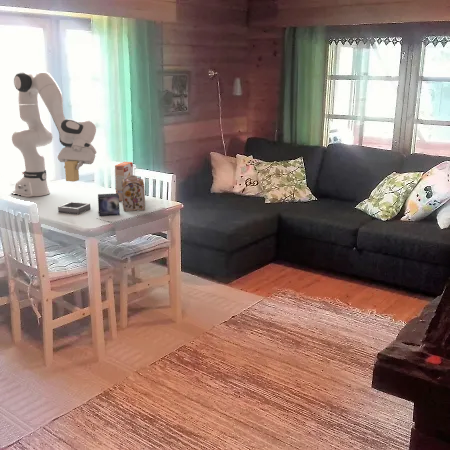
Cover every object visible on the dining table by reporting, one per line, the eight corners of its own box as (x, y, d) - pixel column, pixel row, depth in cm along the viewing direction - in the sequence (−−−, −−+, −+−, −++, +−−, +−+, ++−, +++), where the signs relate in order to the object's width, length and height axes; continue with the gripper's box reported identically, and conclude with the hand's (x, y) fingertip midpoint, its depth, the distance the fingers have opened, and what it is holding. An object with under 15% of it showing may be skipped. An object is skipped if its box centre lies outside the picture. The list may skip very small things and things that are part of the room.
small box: (99, 216, 279) (98, 196, 276) (98, 213, 285) (97, 194, 282) (120, 215, 282) (119, 195, 279) (118, 212, 288) (117, 193, 285)
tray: (58, 212, 286) (57, 206, 285) (71, 207, 297) (70, 201, 296) (77, 214, 282) (77, 208, 282) (90, 209, 293) (90, 203, 292)
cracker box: (125, 201, 310) (124, 165, 304) (115, 201, 311) (114, 165, 305) (134, 196, 323) (133, 161, 317) (124, 195, 324) (123, 161, 318)
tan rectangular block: (66, 180, 284) (64, 162, 281) (70, 179, 288) (69, 160, 285) (74, 181, 282) (72, 162, 279) (79, 180, 286) (77, 161, 284)
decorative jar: (122, 206, 300) (121, 174, 295) (143, 205, 303) (142, 173, 298) (123, 211, 289) (122, 178, 284) (145, 210, 292) (144, 177, 287)
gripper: (60, 142, 289) (51, 163, 283) (94, 144, 283) (85, 166, 277) (66, 150, 295) (56, 170, 288) (99, 152, 288) (90, 173, 282)
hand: (71, 168), depth 283 cm, fingers closed on tan rectangular block, 5 cm apart
